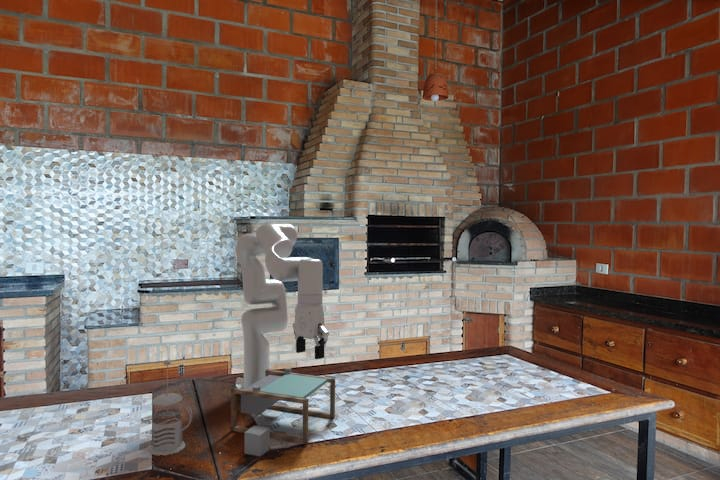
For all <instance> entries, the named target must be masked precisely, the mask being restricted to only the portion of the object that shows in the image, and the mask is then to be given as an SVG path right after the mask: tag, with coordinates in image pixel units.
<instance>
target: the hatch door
mask: <svg viewBox="0 0 720 480" xmlns="http://www.w3.org/2000/svg"><path fill="white" fill-rule="evenodd" d="M327 383H328V382H327V379H323V378H315V377H308V376H300V375H293V374H286V375H284V376H277V375H268V376H266V377H264V378H263V379H261V380H259V381H257V382H256V383H254V384H252V385H250V386H248V387H247V388H245V389H246V390H253V387H254V386H260V392H266V393H273V394H279V395H286V396H293V397H299V398H306V399H308V397H310V396H311V395H312V394H313V393H315V392H317V390H319V389H320V388H322V387H323V386H325V384H327ZM279 401H280V400H275V399H269V398H262V397H256V396H249V395H243V394H240V413H242V414H248V415H253V416H258V415H261V413H263V412H265V411H266V410H267V409H270V408H269V407H270V406H272V405H273V404H277V403H278V402H279Z"/></svg>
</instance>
